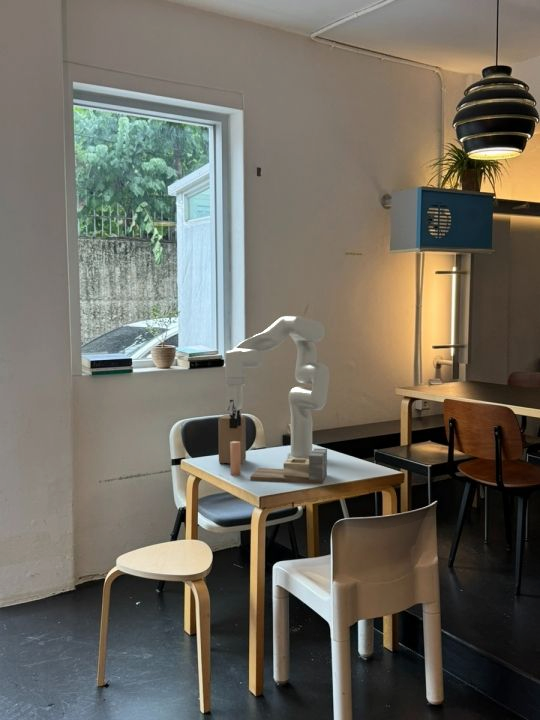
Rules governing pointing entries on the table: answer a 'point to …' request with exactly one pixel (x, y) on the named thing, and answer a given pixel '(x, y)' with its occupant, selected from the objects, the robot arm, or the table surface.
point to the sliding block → (296, 467)
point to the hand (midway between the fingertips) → (235, 426)
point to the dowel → (235, 458)
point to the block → (231, 438)
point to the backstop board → (315, 476)
